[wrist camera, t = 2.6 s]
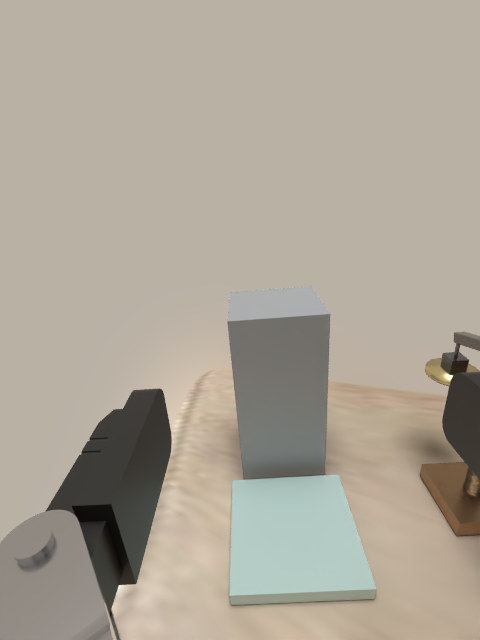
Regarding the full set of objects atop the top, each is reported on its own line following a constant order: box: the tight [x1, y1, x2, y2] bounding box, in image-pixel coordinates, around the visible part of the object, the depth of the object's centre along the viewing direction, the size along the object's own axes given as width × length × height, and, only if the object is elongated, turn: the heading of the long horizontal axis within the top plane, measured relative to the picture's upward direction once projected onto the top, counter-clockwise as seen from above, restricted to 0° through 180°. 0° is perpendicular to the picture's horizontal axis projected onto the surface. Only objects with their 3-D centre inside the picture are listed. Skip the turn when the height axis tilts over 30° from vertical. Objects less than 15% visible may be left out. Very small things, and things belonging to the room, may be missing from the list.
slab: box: [229, 475, 377, 605], centre depth 19 cm, size 7×6×1 cm
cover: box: [228, 286, 330, 479], centre depth 22 cm, size 6×5×12 cm
